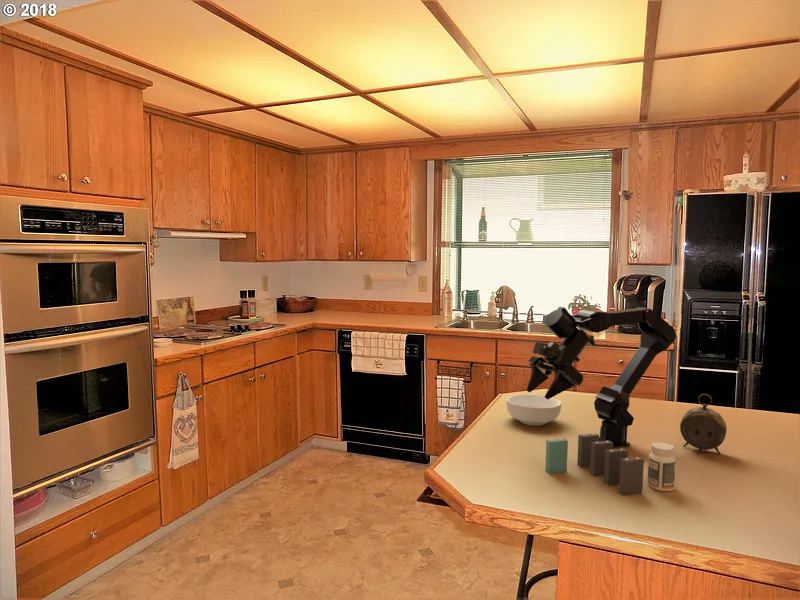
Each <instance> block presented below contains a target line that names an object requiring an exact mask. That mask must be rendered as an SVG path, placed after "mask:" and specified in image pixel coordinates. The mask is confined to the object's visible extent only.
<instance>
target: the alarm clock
mask: <svg viewBox="0 0 800 600" xmlns="http://www.w3.org/2000/svg"><path fill="white" fill-rule="evenodd" d="M702 396H707V397H709V399H710V403H709V404H706V403H701V402H700V399H701V397H702ZM697 400H698V401H697V402H698V403H699V405H702V406H698V407H693V408H690V409H689V410H687V411H686V412H685V413H684V414H683V416H682V419H681V421H680V425H679V430H680V435H681V436H682V438H683V439H684V441H685V443H684V444H683V445H682V447H683V448H686V447H687V446H688V445H690V446H691V447H693V448H695V449H697V450H698V454H699V455H701V454H702V451H703V450H704V451H710V450H711V451H712V450H715V451H716V452H717V454H718V455H721V451H720V450H719V448H718V447H720V446H721V445H722V444H723V442H724V441H725V438H726V434H727V432H728V431H727V423H726V421H725V419H724V417H723V416H722V415H721V414H720V413H719V412H717V411H715V410H714V409H712V408H709V407H708V406H710V405H711V404H712V402H713V398H712V396H711V395H709V394H708V393H707V394H706V393H702V394H700V395H699V396H698V397H697Z"/></svg>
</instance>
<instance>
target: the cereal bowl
mask: <svg viewBox="0 0 800 600" xmlns="http://www.w3.org/2000/svg"><path fill="white" fill-rule="evenodd" d="M505 404H506V409H507V412H508V413H509V415H510V416H511V417H512V418H514V419H516V420H517V421H519V422H520V423H522V424H523V425H528V426H535V427H536V426H537V427H538V426H543V425H546V424H548V423H550V422H552V421H555V420H556V419H557V418H558V417H559V416H560V413H561V410H562V402H561V401H560V400H559V399H557V398H554V397H552V398H550V399H548V400H547V399H546V398H545V395H541V394H531V393H530V394H529V393H527V394H514V395H510V396H509V397H507V398H506V403H505Z"/></svg>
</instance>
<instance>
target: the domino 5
mask: <svg viewBox="0 0 800 600" xmlns="http://www.w3.org/2000/svg"><path fill="white" fill-rule="evenodd" d="M644 466H645V459H644V458H642V457H640V456H634V457H633V456H632V457H628V458H624V459H620V479H619V484H618V494H620V495H621V496H623V497H624V496H626V497H627V496H632V495H633V496H634V495H640V494H641V495H642V494H643V487H644V486H643V484H644Z"/></svg>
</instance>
